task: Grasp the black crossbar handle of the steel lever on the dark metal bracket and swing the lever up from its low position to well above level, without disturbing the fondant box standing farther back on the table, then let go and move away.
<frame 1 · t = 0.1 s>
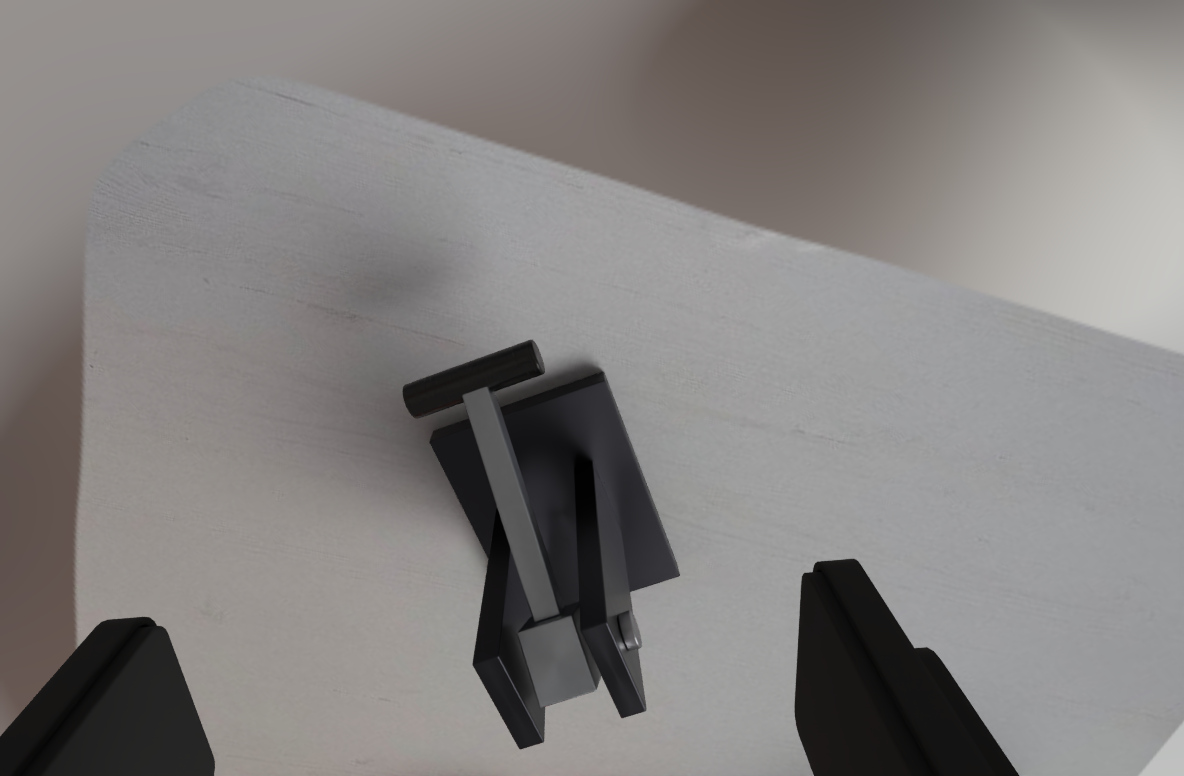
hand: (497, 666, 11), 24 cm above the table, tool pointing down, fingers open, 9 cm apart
lever: (519, 521, 28), point 9 cm above the table, hinge at -28.0°
bracket: (560, 500, 37), on the table
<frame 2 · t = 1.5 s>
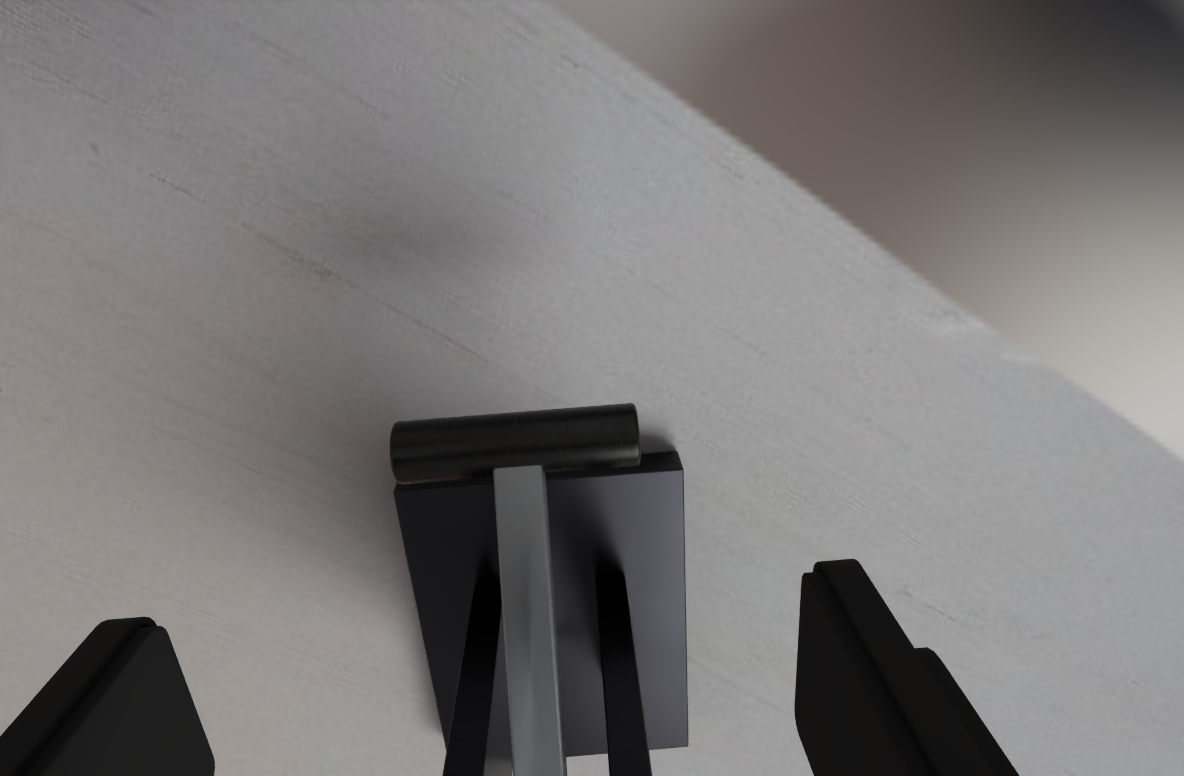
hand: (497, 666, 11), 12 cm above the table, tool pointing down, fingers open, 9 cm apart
lever: (536, 706, 16), point 9 cm above the table, hinge at -28.0°
bracket: (555, 608, 26), on the table
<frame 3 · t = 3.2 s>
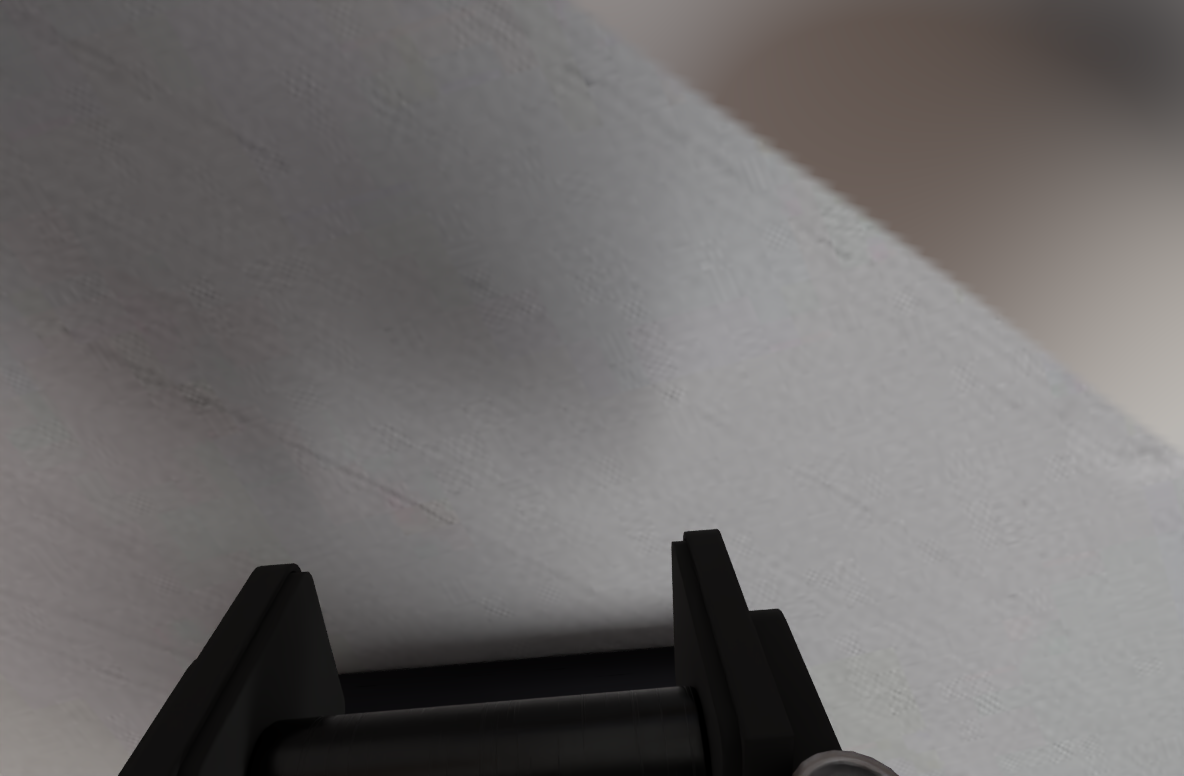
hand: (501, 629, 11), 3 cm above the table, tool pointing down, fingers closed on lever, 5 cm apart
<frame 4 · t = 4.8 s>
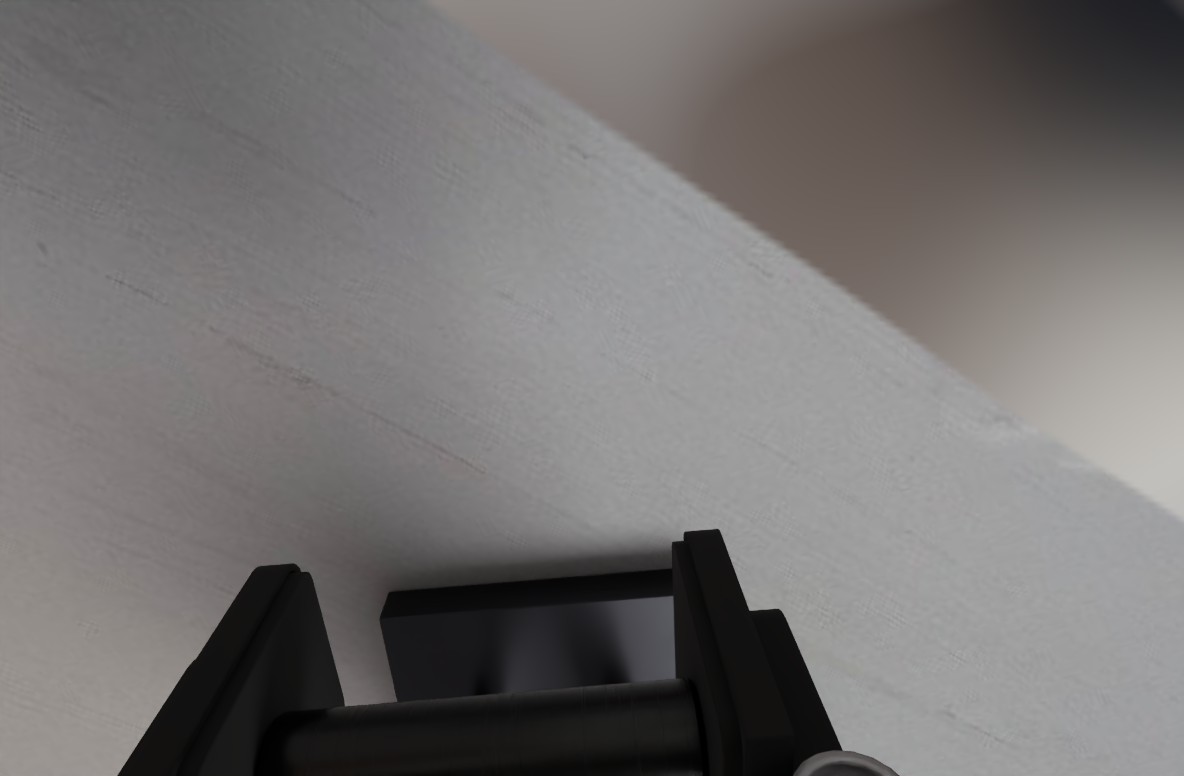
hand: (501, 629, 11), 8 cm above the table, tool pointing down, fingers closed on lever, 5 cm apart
bracket: (560, 733, 23), on the table
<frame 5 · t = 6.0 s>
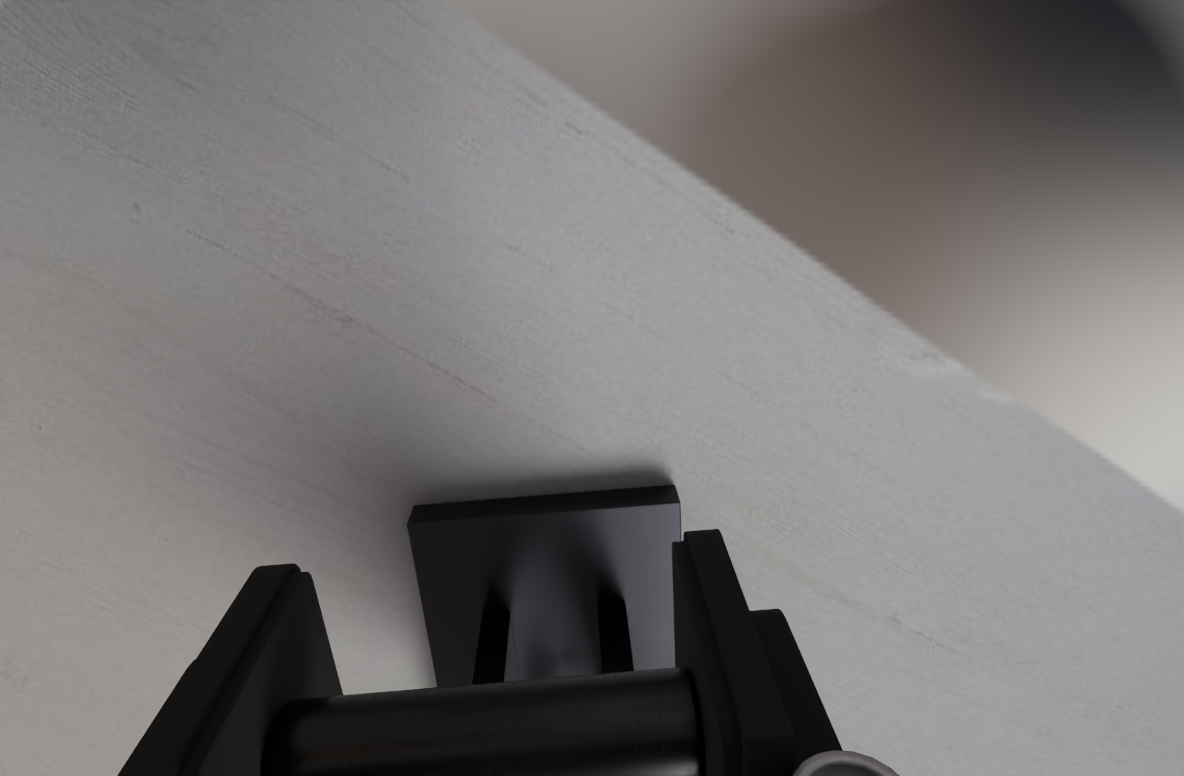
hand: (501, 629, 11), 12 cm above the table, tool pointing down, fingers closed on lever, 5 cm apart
bracket: (559, 634, 27), on the table
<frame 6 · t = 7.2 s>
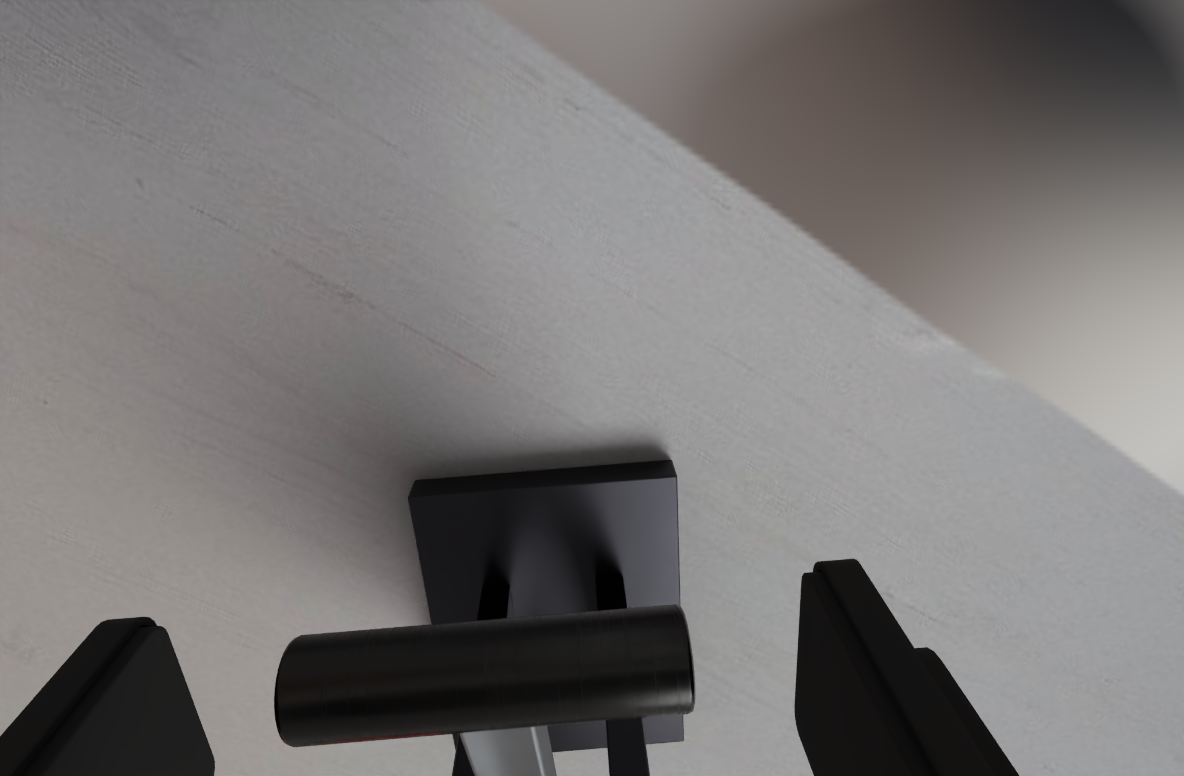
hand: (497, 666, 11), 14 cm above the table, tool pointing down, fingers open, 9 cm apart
bracket: (558, 608, 27), on the table
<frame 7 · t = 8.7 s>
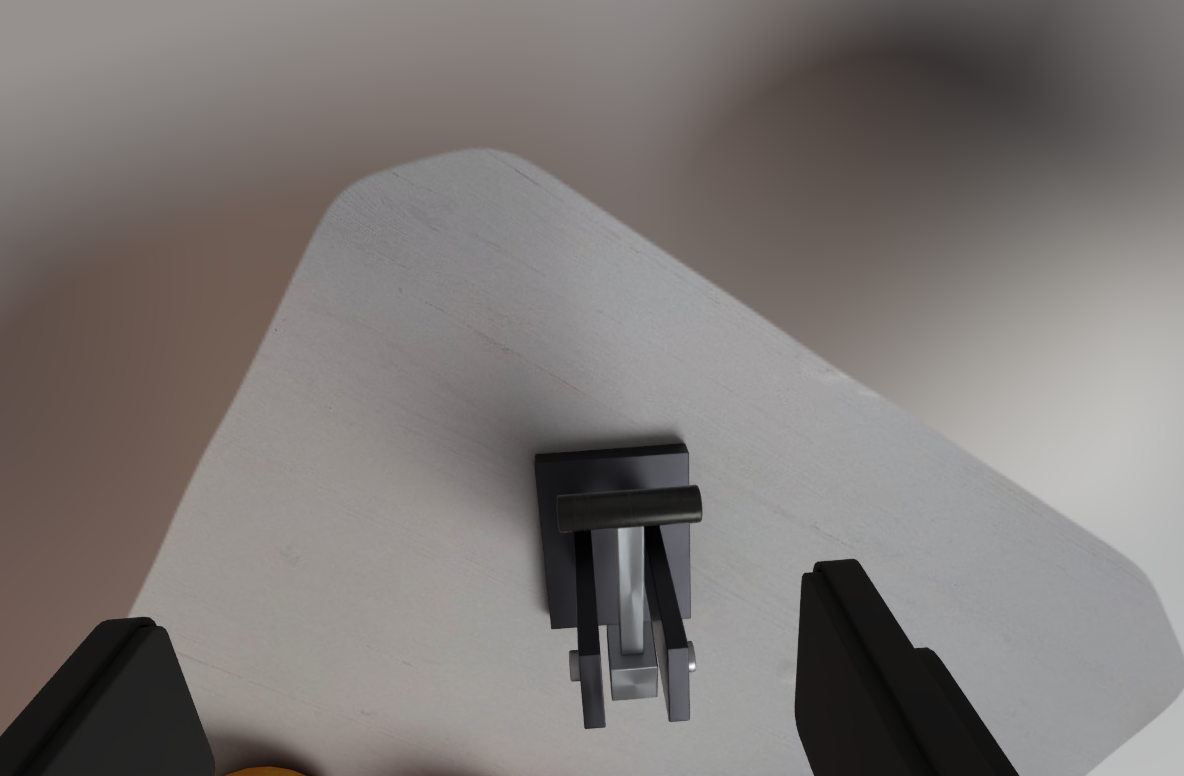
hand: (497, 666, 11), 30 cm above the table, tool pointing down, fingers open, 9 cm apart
lever: (630, 598, 31), point 13 cm above the table, hinge at 17.2°
bracket: (615, 534, 45), on the table
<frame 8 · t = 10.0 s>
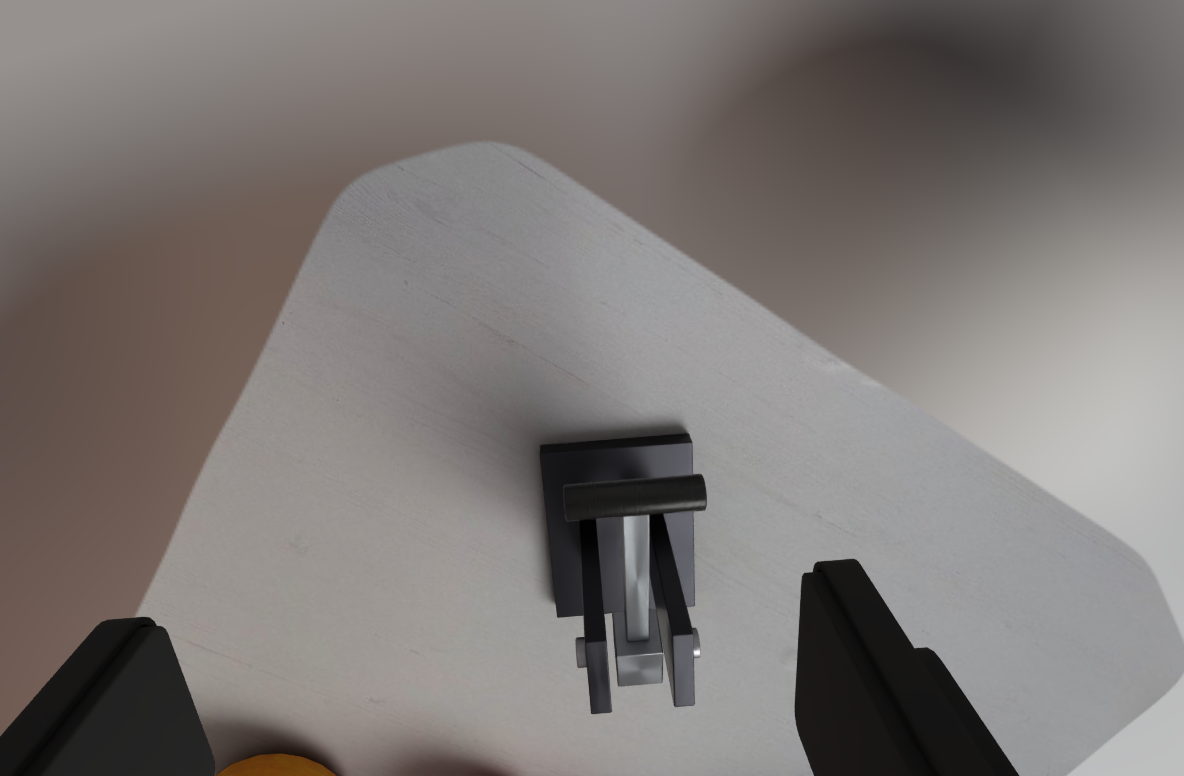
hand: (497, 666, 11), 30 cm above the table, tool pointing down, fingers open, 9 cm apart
lever: (636, 585, 32), point 13 cm above the table, hinge at 17.2°
bracket: (619, 523, 45), on the table
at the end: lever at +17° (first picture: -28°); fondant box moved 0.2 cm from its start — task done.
